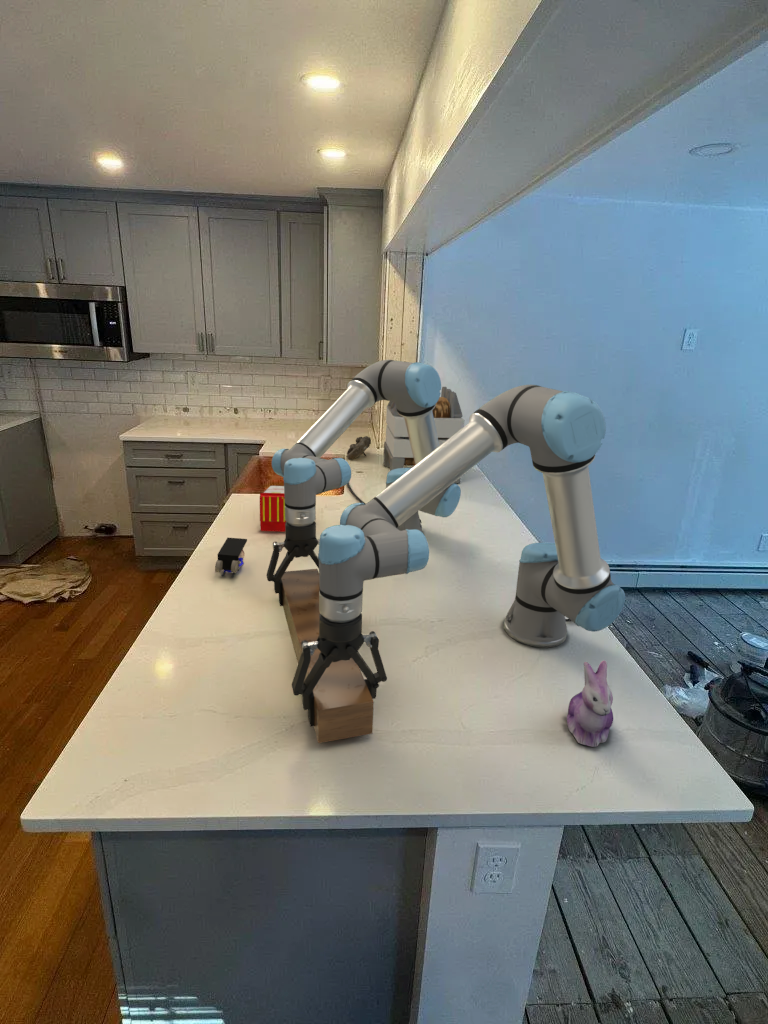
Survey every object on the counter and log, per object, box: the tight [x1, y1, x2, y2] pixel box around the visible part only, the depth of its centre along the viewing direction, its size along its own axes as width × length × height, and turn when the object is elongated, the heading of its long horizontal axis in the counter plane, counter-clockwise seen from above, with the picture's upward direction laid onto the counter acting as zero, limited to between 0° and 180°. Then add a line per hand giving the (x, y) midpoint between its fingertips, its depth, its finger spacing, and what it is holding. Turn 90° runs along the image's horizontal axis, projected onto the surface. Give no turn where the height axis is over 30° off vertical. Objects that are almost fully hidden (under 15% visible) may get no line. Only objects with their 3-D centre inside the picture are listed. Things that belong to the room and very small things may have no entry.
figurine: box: [566, 660, 614, 748], centre depth 106 cm, size 9×10×15 cm
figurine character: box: [214, 537, 248, 578], centre depth 166 cm, size 7×8×15 cm
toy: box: [259, 485, 286, 533], centre depth 208 cm, size 12×13×30 cm
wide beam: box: [281, 568, 375, 744], centre depth 126 cm, size 56×10×7 cm, turn 17°
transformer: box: [383, 386, 465, 484], centre depth 268 cm, size 34×33×41 cm
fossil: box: [346, 435, 372, 461], centre depth 300 cm, size 22×10×15 cm
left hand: (301, 601), depth 147 cm, fingers closed on wide beam, 10 cm apart
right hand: (339, 716), depth 106 cm, fingers closed on wide beam, 10 cm apart
